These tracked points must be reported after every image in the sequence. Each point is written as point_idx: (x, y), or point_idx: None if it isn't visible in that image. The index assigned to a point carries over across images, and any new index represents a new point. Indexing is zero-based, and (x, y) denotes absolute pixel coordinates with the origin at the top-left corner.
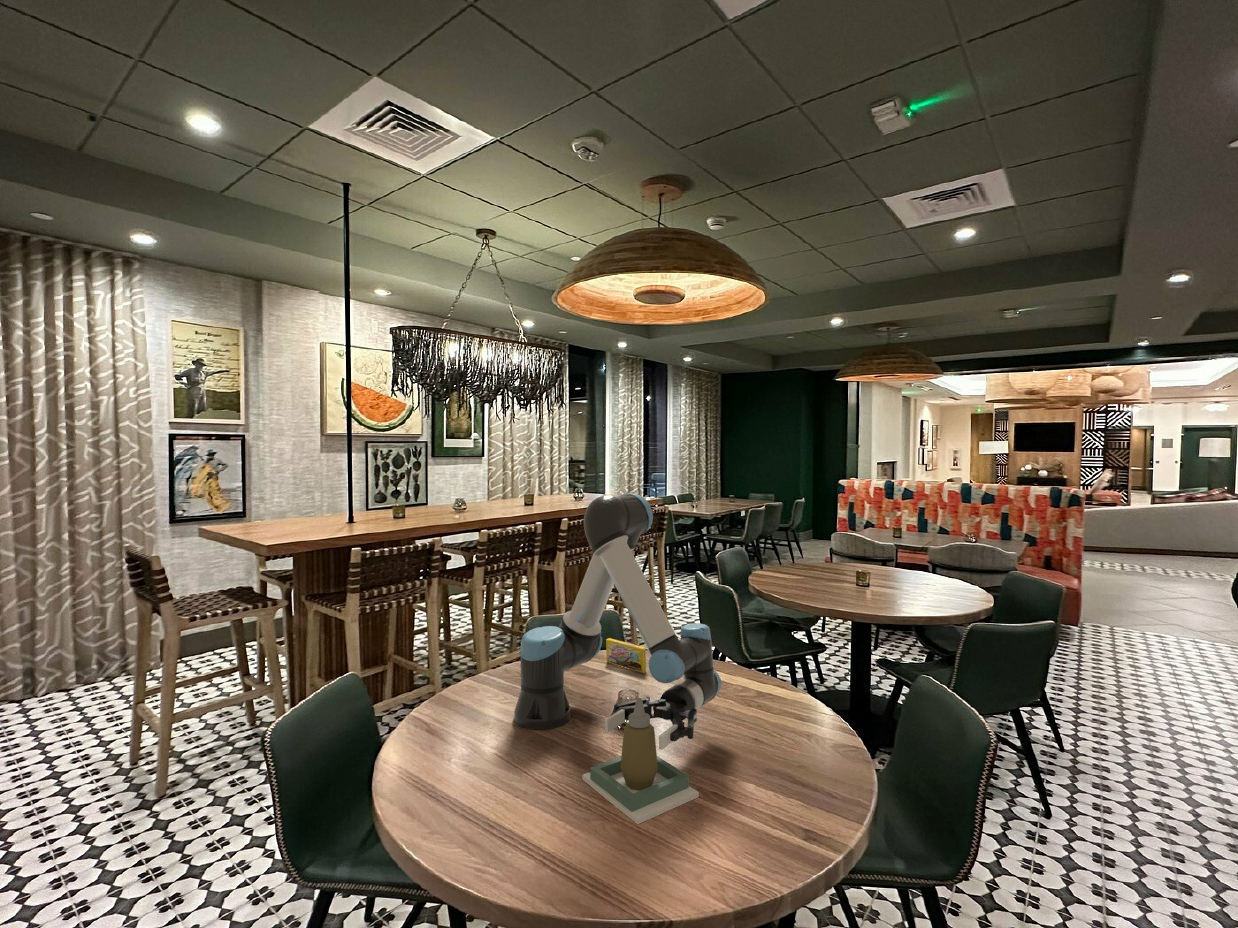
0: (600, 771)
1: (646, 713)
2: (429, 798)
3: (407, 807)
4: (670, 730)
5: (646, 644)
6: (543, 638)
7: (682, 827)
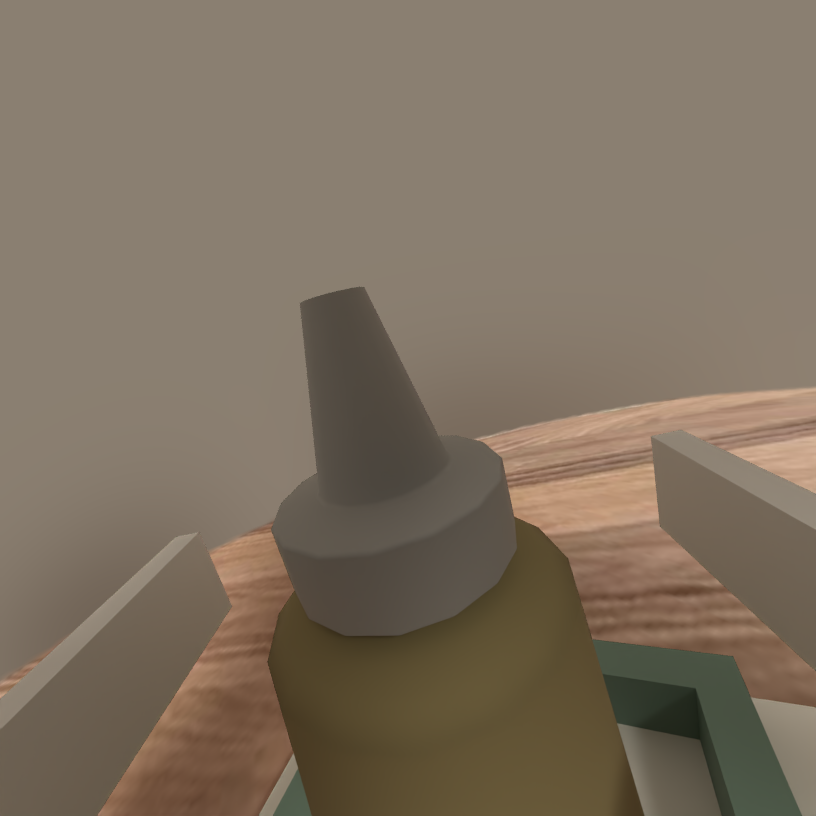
0: (655, 668)
1: (338, 547)
2: (808, 418)
3: (775, 403)
4: (71, 637)
5: None
6: None
7: (211, 743)
